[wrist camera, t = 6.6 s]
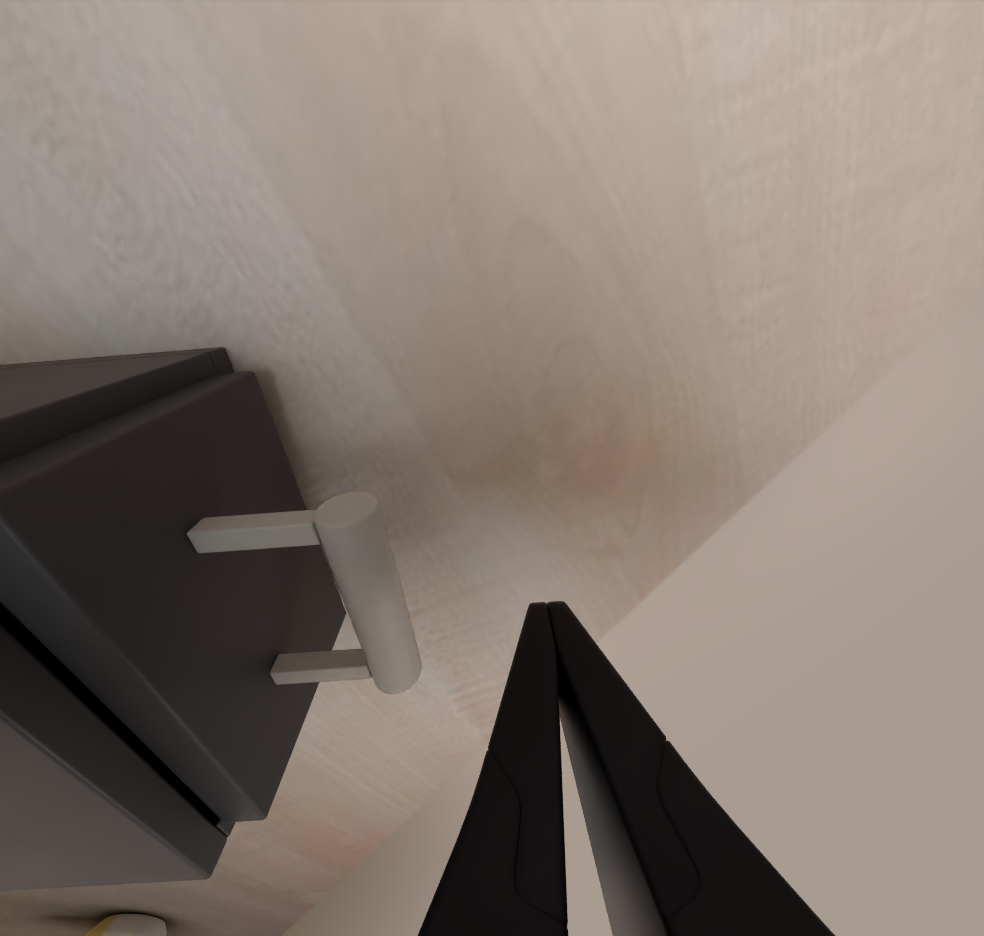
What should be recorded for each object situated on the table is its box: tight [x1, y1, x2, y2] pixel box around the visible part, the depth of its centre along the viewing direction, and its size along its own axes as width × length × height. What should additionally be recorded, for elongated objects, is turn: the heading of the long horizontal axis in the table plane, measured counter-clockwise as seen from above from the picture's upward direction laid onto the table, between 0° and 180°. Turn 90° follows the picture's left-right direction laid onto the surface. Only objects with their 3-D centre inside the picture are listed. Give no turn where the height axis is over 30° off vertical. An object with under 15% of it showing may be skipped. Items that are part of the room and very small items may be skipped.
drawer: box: [0, 372, 422, 822], centre depth 11 cm, size 17×10×7 cm, turn 94°
